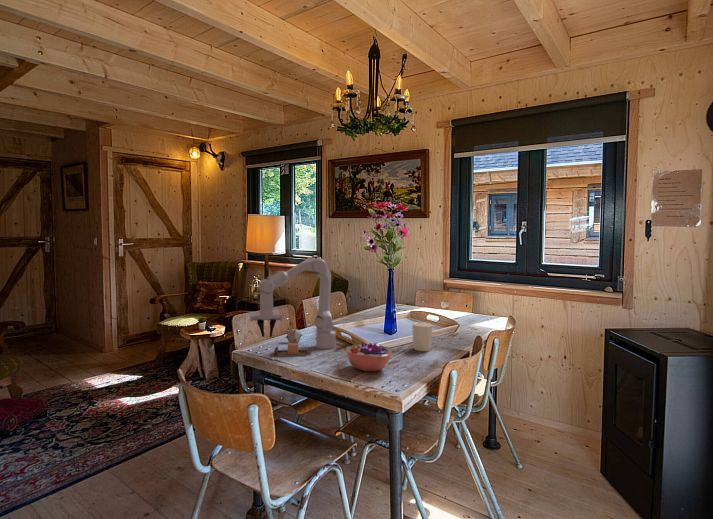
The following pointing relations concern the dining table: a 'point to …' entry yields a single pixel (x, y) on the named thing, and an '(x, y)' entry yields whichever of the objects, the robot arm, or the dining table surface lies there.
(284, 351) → the lane rails
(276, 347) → the brown boxy piece
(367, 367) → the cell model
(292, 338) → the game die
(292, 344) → the block
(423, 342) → the candle holder
